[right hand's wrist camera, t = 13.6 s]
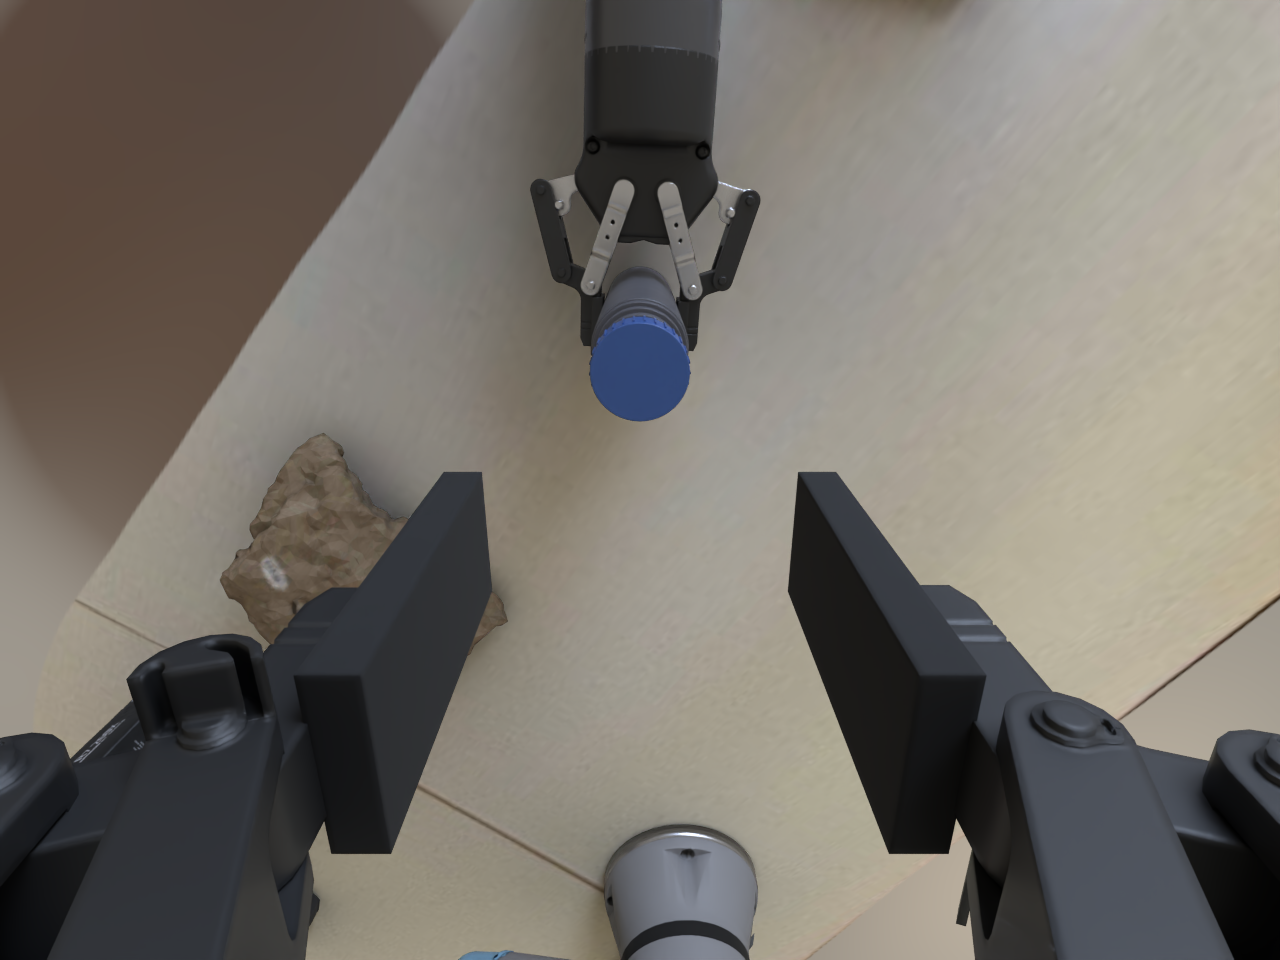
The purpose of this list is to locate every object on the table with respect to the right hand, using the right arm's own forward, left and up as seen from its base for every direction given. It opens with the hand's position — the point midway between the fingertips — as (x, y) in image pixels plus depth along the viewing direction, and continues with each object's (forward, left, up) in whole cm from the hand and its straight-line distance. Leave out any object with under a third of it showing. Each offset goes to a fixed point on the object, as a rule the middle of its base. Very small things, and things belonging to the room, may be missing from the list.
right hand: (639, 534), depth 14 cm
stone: (-31, -2, -39) cm, 50 cm away
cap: (0, 0, -15) cm, 15 cm away
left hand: (-2, -2, -33) cm, 33 cm away
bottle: (0, 0, -39) cm, 39 cm away
